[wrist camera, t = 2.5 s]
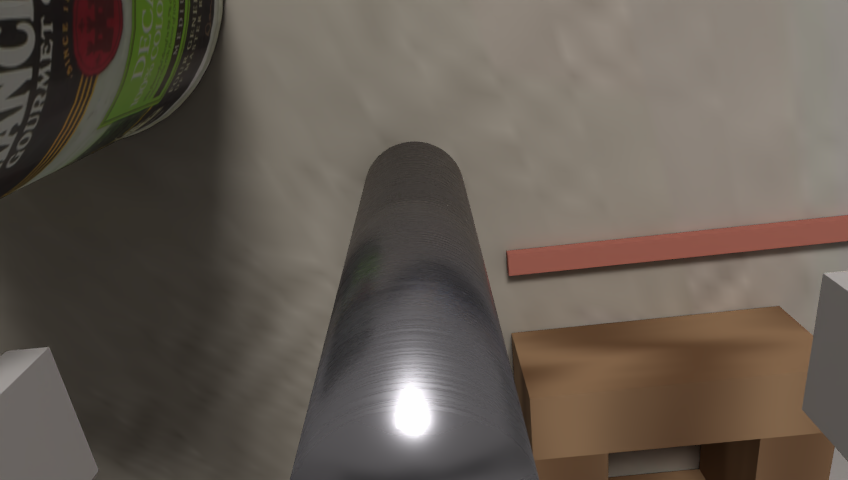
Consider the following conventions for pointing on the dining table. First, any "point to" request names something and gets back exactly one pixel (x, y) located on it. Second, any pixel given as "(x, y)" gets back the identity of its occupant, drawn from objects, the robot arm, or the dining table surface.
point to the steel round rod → (414, 342)
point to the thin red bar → (678, 245)
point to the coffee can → (93, 75)
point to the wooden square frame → (672, 396)
